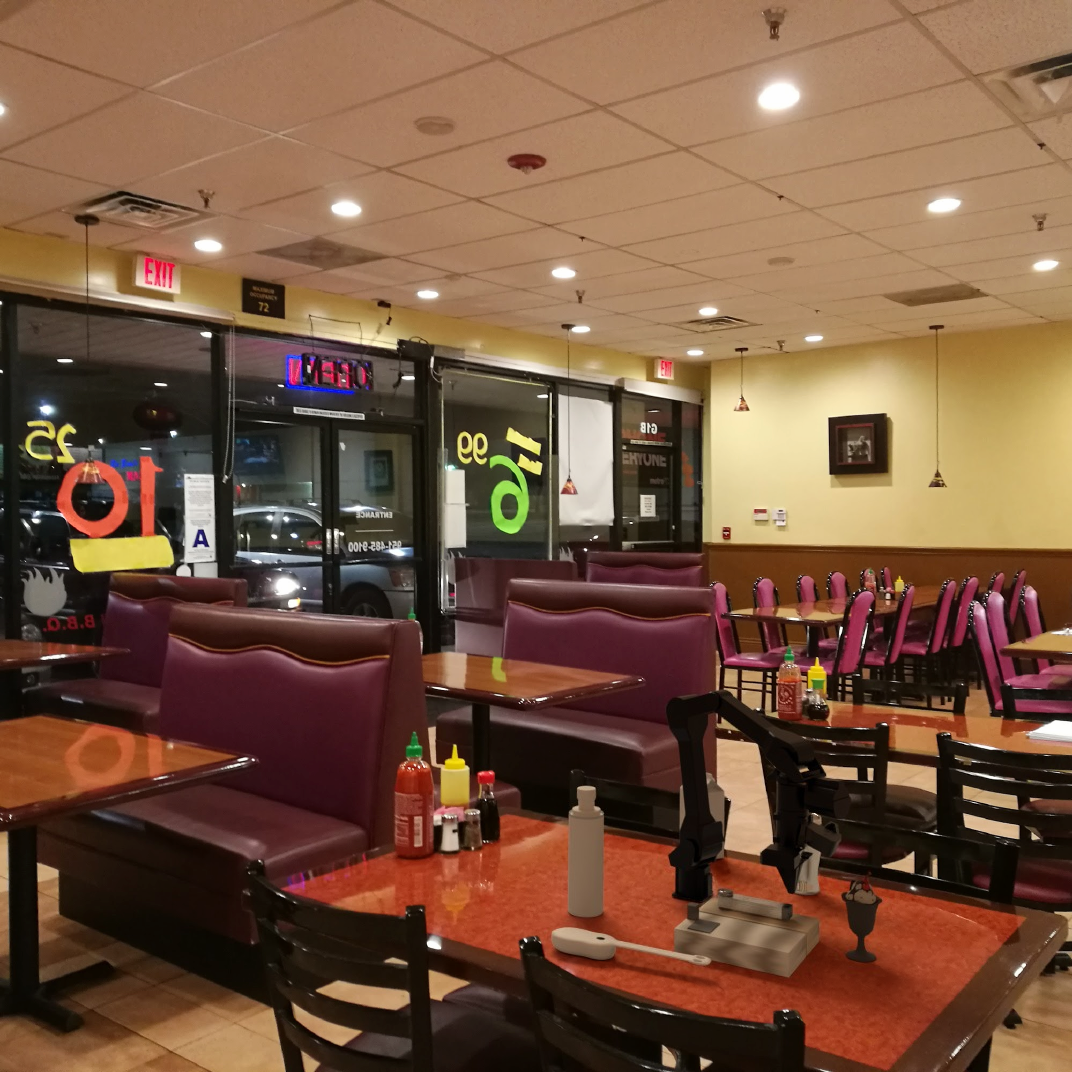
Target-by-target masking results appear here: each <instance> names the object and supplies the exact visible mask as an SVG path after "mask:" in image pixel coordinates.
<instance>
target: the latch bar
mask: <svg viewBox="0 0 1072 1072" xmlns="http://www.w3.org/2000/svg"><path fill="white" fill-rule="evenodd" d="M717 899H718V907H723V908H728V909H733V910H738V911H743V912H748V913H753V914H758V915H763V916H768V917H773V918H778V919H782V920H787V921H788V920H789V919H790V918H791V917H792V916H793V912H794V906H793V904H792V903H786V902H780V901H776V900H770V899H764V898H759V897H754V896H748V895H744V894H738V893H734V890H733V889H730V888H724V887H723V888H719V889H717Z"/></svg>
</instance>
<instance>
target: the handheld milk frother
mask: <svg viewBox="0 0 1072 1072" xmlns="http://www.w3.org/2000/svg"><path fill="white" fill-rule="evenodd" d="M550 938H551V943H552V945H553V947H554V949H556V950H558V951H560V952H561V953H566V954H570V955H575V956H582V957H586V958H589V959H593V960H598V961H605V960H609V959H612V958H613V957H614V955H615V953H616V950H617V948H621V949H627V950H632V951H638V952H641V953H647V954H652V955H656V956H661V957H666V958H671V959H676V960H680V961H684V962H689V963H690V964H693V965H697V966H708V965H710V964H711V962H712V960H711V959H709V958H707V957H704V956H699V955H688V954H682V953H678V952H674V951H673V950H672V951H671V950H665V949H661V948H657V947H651V946H647V945H642V944H638V943H633V942H628V941H627V942H626V941H621V940H618V939H616V938H615V937H613V936H611V935H610V934H607V933H606V934H605V933H602V932H601V933H599V932H594V931H589V930H586V929H583V928H577V927H560V928H556V929H554V930H552V932H551V937H550Z"/></svg>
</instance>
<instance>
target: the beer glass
mask: <svg viewBox="0 0 1072 1072" xmlns="http://www.w3.org/2000/svg"><path fill="white" fill-rule="evenodd" d="M812 815H813V822H814V823H816V824H818V825H820V824H822V815H818V814H814V813H812ZM822 825H823V824H822ZM805 852H811V853H813V855H812V856H811V857H810V858H809V859H807V860H806V861H805V862H804V863H803V866H802V869H801V873H800V876H799V880H798V884H797V887H796V891H795V893H794V894H796V895H800V896H801V895H802V896H814V895H817V894H819V893H820V885H819V877H818V876H819V875H818V873H819V871H818V869H819V864H820V859H821V854H822V853H821V852H819V851H817V850H815V849H813V848H811V847H810V846H808V845H806V847H805Z"/></svg>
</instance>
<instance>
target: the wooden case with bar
mask: <svg viewBox="0 0 1072 1072" xmlns="http://www.w3.org/2000/svg"><path fill="white" fill-rule="evenodd" d="M673 931H674V933H673V934H674V936H673V937H674V938H673V952H677V953H682V954H688V955H699V956H704V957H707V958H709V959H711V961H713V962H718V963H722V964H727V965H731V966H734V967H735V966H736V967H738V968H739V967H740V968H744V969H749V970H753V971H757V972H762V973H766V974H771V975H776V976H779V977H784V978H787V979H788V978H790V977H791V975H792V974H793V973H794V972H795V971H796V969H798V967H799V966H800V965H801V964H802V962H803V961H804V960H805V959H806V957H807V956H808V955H809V954H810V953H811V952H812V950H813V949H814V948H815V947H816V946H817V944H818V943H819V942H820V918H819V917H815V916H808V915H805V914H799V913H795V912H794V913H793V916H792V917H791V918H790V919H789V920H788V921H787V920H782V919H778V918H773V917H768V916H763V915H758V914H753V913H748V912H743V911H738V910H733V909H728V908H723V907H718V897H717V898H716V897H711V898H710V899H709V900H708V901H706V902H704V904H703V905H702V906H700V904H699V903H696V902H689V903H688V904H687V905H686V918H685V919H684V920H683V921H681V923H679V924H678V925H677V926H675V927H674V929H673Z"/></svg>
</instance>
